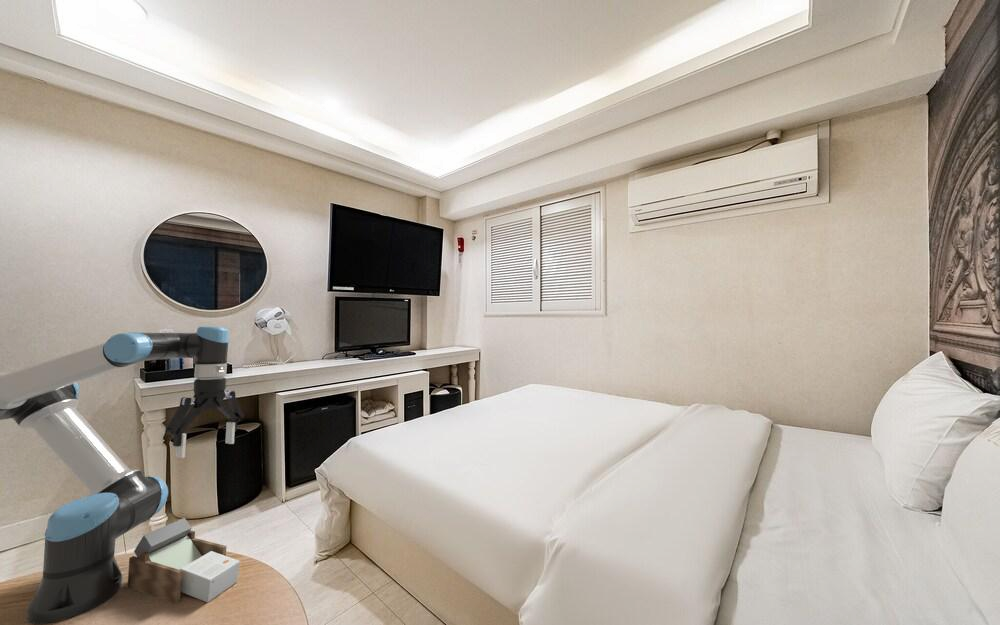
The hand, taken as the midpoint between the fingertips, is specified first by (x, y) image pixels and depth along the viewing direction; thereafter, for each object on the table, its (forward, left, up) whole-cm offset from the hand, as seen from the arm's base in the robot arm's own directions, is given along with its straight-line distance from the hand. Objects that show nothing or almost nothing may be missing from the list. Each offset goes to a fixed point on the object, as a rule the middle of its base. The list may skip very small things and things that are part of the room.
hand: (206, 450), depth 106 cm
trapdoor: (+1, -8, -29) cm, 30 cm away
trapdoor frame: (+3, -8, -32) cm, 33 cm away
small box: (+9, -7, -28) cm, 30 cm away
